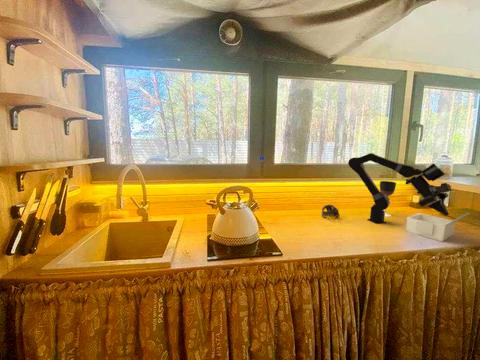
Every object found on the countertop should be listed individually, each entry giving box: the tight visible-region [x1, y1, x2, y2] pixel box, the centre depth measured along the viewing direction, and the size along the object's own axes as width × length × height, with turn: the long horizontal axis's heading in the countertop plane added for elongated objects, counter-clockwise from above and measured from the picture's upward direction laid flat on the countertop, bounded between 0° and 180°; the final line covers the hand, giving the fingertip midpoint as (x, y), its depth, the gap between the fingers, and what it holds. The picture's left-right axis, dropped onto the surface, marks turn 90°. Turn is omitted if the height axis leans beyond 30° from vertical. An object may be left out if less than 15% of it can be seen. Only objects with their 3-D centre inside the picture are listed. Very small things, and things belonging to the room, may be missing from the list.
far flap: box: [445, 211, 470, 226], centre depth 103 cm, size 7×12×1 cm
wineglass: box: [379, 180, 397, 217], centre depth 139 cm, size 8×9×20 cm
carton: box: [405, 212, 456, 243], centre depth 112 cm, size 15×15×7 cm
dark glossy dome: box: [321, 204, 340, 219], centre depth 135 cm, size 12×10×8 cm
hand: (447, 215), depth 105 cm, fingers closed
